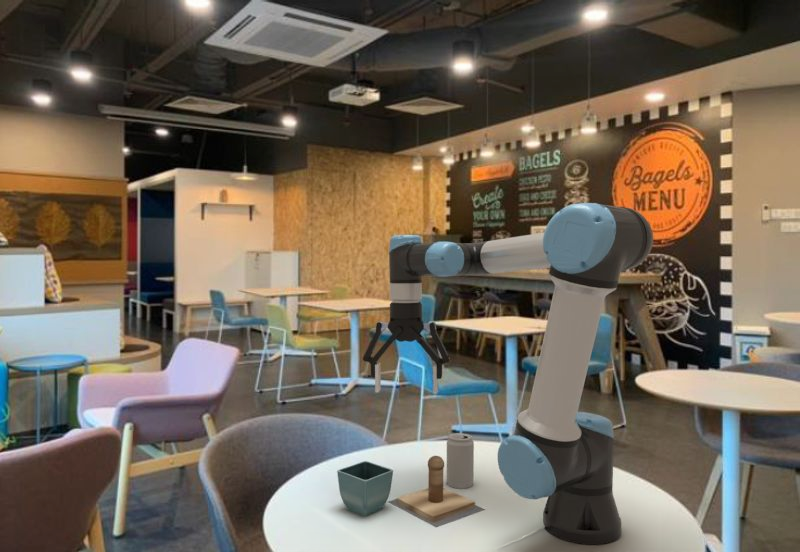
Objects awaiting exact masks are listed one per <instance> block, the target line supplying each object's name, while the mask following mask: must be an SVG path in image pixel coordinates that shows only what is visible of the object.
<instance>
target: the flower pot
mask: <svg viewBox="0 0 800 552" xmlns="http://www.w3.org/2000/svg"><path fill="white" fill-rule="evenodd" d="M336 472H337V481H338V488H339V495H340V497H341V500H342V502H343V505H344V506H345V508H346V509H347V510H348V511H350V512H353V513H355V514H358V515H360V516H363V517H367V516H370V515H371V514H373V513H375V512H378V511H380V510H382V509H383V508H384V506H385V505H386V504H387V502H388V499H389V497H390V495H391V494H390V493H391V488H392V482H393V474H394V469H391V468H390V467H385V466H383V465H379V464H376V463H373V462H370V461H367V460H364V461H363V460H362V461H360V462H358V463H355V464H352V465H349V466H346V467H343V468H339V469H337V471H336Z"/></svg>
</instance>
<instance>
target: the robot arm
mask: <svg viewBox="0 0 800 552" xmlns="http://www.w3.org/2000/svg"><path fill="white" fill-rule="evenodd" d="M653 243H654V233H653V230H652V227H651V223H650V222H649V221H648V220H647V218H646V217H645V216H644V215H643V214H641V213H640V212H639V211H638V210H636V209H633V208H630V207H625V206H615V205H608V204H607V205H606V204H600V203H597V202H585V203H573V204H569V205H567V206H565V207H562V209H560V210H558V211H557V212H556V213H554V215H553V216H552V218H551V219H550V220H549V221H548V223H547V225H546V227H545V230H544V232H540V233H532V234H525V235H519V236H512V237H506V238H500V239H493V240H488V241H480V242H479V241H478V242H473V243H472V242H470V243H465V242H463V243H462V242H452V241H435V242H422V237H421V236H420V235H416V234H401V235H400V234H398V235H392V236H391V237H390V239H389V250H388V256H389V257H388V258H389V259H388V261H389V300H390V301H391V302H390V303H389V322H383V321H378V322H376V324H375V332H374V334H373V337H372V338H371V340H370V343H369V344H368V347H367V348H366V351H365V353H364V354H363V357H362V361H363V362H366V363H369V364H370V377H371V378H372V379H373V378H374V380H375V381H374V385H375V387H374V388H375V389H374V392H375V393H380V392H381V389H382V388H381V387H382V386H381V385H382V384H381V383H382V382H381V376H382V375H381V374H382V373H381V362H378V361H379V360H380V358H381V357H383V355H384V354H385V353H386V351H387V350H388V349H389V348H390V347H391V345H392V344H393V343H394V342H395V341H396V340H397V341H398V342H400V343H402V342H409V343H412V342H414V341H416V343H418V344H419V345H420V346H421V348H422V349H423V350H424V351H425V352H426V354H427V355H428V356H429V357H430V358H431V359H432V360H433V362H434V364H433V365H432V371H433V373H432V381H433V382H432V392H433V395H437V394H438V393H439V389H438V384H439V382H438V380H441V379H442V377H443V365H444V364H446V363H449V362H450V360H451V358H450V355H449V353H448V351H447V349H446V347H445V345H444V343H443V342H442V340H441V339H442V338H440V336H439V333H438V331H437V324H436V322H435V321H431V322H425V323H424V321H423V303H422V302H420V301H421V300H423V290H422V288H423V286H422V285H423V284H422V281H423V279H422V277H439V278H447V277H455V276H456V277H458V276H459V277H461V276H478V277H480V276H481V277H482V276H483V277H484V276H488V275H492V274H501V273H510V272H520V271H521V272H522V271H532V270H533V271H534V270H541V269H549V271H548V276H549V278H550V279H551V281H552V283H553V284H554V289H553V294H552V299H551V302H550V308H549V312H548V317H547V321H546V327H545V329H544V330H545V331H544V335H543V340H542V345H541V349H540V354H539V358H538V362H537V363H538V364H537V367H536V372H535V377H534V381H533V386H532V388H531V389H532V390H531V395H530V399H529V404H528V408H527V409H524V410H523V411H521V412H519V414H518V416H517V419H516V424H515V428H514V432H513V434H512V435H509V436H507V437H505V439H504V440H502V442H501V443H500V445H499V447H498V450H497V465H498V469H499V472H500V474H501V475H502V476H503V479H504V482H505V483H506V484H507V486H508V487H509V488H510V489H511V490H512V491H513V492H514V493H516V494H517V495H518V496H520V497H522V498H524V499H527V500H538V499H542V498H547V500H546V503H545V506H544V509H543V511H542V523H543V525H544V529H545V530H546V531H547V532H548V533H549V534H551V535H553V536H555V537H557V538H560V539H562V540H564V541H568V542H572V543H576V544H583V545H603V544H609V543H612V542H615V541H617V540H618V539H620V537H621V536H622V519H621V517H620V513H619V510H618V507H617V503H616V501H615V497H614V491H613V483H614V482H613V479H614V477H613V475H614V445H615V444H614V440H615V436H614V425H613V422H612V421H611V420H610V419H609V418H607V417H605V416H604V415H599V414H595V413H591V412H585V411H579V408H580V402H581V399H582V398H581V397H582V394H583V390H584V386H585V381H586V378H587V375H588V374H587V373H588V370H589V365H590V361H591V357H592V352H593V349H594V344H595V340H596V336H597V331H598V327H599V324H600V323H599V322H600V320H601V319H600V318H601V315H602V311H603V307H604V302H605V298H606V296H608V295H609V294H610V293H612V292H615V291H616V290H617V288H618V285H619V280H620V276H621V273H622V272H623V271H624V272H625V271H628V270H632V269H633V268H636V267H638V266H639V265H641V264H642V263H643V262H644V261H645V260H646V259H647V258H648V257H649V256H650V253H651V251H652V247H653V245H654V244H653ZM386 329H388V331H389V332H390V333H391V335H390V336H389V338H388V339H387V340H386V342H384V344H383V345H382V346H381V347H380V349H379V350H378V351H377V352H376V353H375V355H374V356H372V354H373V352H374V351H375V348H376V346H377V344H378V342H379V340H380V339H381V336H382V334H383V332H385V331H386ZM424 329H426V331H427V332H428V333H430V336H431V338H432V339H433V342H434V345H435V346H436V348H437V349H438V352H439V354H440V356H441V357H440V356H439V354H438V353H437V352H436V351H435V349H433V347H432V346H431V345H430V344H429V343H428V341H427V340H426V338H424V336H423V335H422V334H421V333H422V332H423V330H424Z"/></svg>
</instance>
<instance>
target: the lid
mask: <svg viewBox="0 0 800 552" xmlns="http://www.w3.org/2000/svg"><path fill="white" fill-rule="evenodd" d="M427 468H428V483H427V485H428V488H426V489H421V490H419V491H415V492H412V493H409V494H406V495H402V496H399V497H396V499H397V504H399V505H401V506H403V507H405V508H407V509H409V510H410V511H412V512H414V513H416V514H418V515H420V516H422V517H424V518H426V519H428V520H430V521H431V522H436V521H439V520H442V519H444V518H447V517H450V516H453V515H456V514H458V513H461V512H464V511H467V510H470V509H473V508H475V505H476V501H474V500H472V499H469V498H467V497H465V496H463V495H460V494H458V493H456V492H454V491H452V490H449V489H447V488H445V487H444V468H445V461H444V459H443V458H442V457H441V456H439V455H433V456H431V457H429V459H428V461H427Z"/></svg>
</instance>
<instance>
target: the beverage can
mask: <svg viewBox="0 0 800 552" xmlns="http://www.w3.org/2000/svg"><path fill="white" fill-rule="evenodd" d="M447 437H448V438H447V440H446V484H447V486H448V487H451V488H453V489H459V490H462V489H469V488H471V487H473V486H474V483H475V481H474V479H475V477H474V476H475V475H474V472H475V471H474V469H475V468H474V467H475V466H474V465H475V463H474V461H475V460H474V458H475V457H474V450H475V445H474V444H475V443H474V440H473V436H472V435H470V434H468V433H461V432H458V433H457V432H456V433H451V434H449V435H448V436H447Z"/></svg>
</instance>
